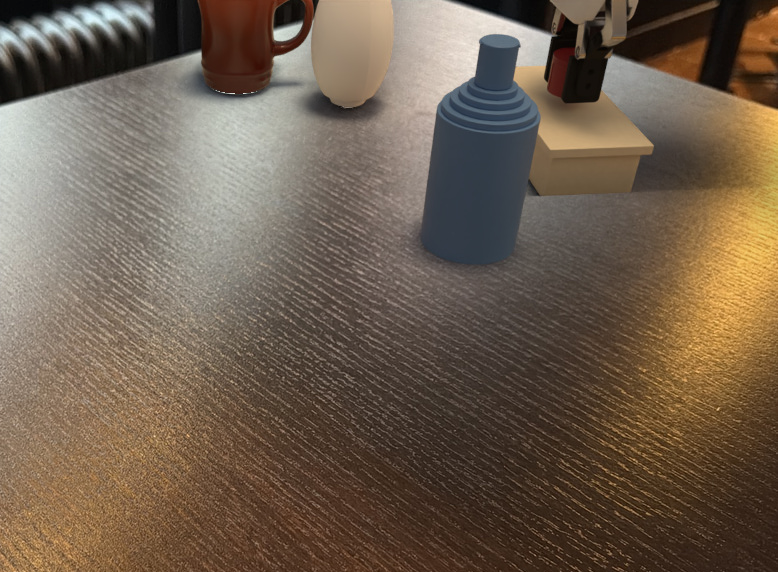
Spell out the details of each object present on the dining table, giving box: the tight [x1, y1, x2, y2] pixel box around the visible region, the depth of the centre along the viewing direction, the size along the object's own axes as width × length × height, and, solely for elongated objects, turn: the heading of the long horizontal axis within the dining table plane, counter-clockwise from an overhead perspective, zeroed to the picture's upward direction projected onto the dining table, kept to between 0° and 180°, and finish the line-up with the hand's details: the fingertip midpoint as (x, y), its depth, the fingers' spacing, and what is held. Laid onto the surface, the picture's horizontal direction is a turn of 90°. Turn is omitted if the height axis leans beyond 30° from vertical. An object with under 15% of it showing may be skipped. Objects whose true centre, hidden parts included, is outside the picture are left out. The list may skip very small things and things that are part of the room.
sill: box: [513, 65, 655, 197], centre depth 90 cm, size 9×18×5 cm, turn 5°
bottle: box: [419, 33, 541, 266], centre depth 73 cm, size 7×7×17 cm
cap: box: [547, 48, 575, 98], centre depth 87 cm, size 4×4×3 cm
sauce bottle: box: [310, 0, 395, 108], centre depth 95 cm, size 8×8×18 cm
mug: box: [196, 0, 315, 94], centre depth 101 cm, size 12×9×10 cm
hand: (570, 89), depth 88 cm, fingers closed on cap, 3 cm apart
